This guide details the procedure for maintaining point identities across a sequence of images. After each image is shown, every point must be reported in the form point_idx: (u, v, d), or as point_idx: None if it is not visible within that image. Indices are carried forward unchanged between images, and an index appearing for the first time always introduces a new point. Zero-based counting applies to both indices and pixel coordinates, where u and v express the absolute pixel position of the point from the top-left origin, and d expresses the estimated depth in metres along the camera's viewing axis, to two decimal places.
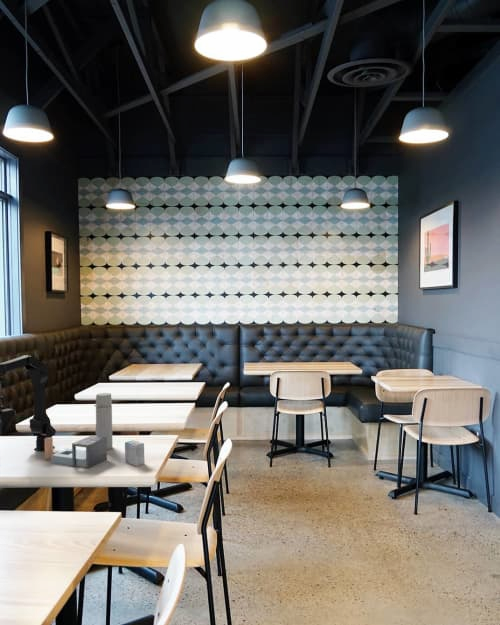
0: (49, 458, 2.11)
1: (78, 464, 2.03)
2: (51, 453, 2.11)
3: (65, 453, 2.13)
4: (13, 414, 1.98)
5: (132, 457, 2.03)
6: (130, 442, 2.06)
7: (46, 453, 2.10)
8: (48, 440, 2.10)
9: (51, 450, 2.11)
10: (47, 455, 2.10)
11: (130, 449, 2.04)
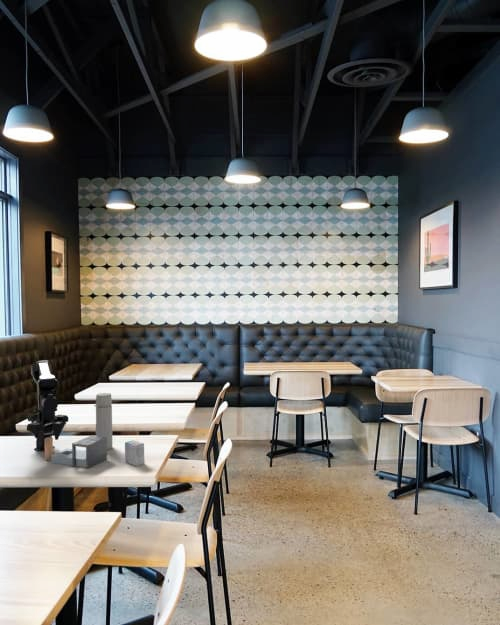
0: (49, 458, 2.11)
1: (78, 464, 2.03)
2: (51, 453, 2.11)
3: (65, 453, 2.13)
4: (34, 429, 2.02)
5: (132, 457, 2.03)
6: (130, 442, 2.06)
7: (46, 453, 2.10)
8: (48, 440, 2.10)
9: (51, 450, 2.11)
10: (47, 455, 2.10)
11: (130, 449, 2.04)
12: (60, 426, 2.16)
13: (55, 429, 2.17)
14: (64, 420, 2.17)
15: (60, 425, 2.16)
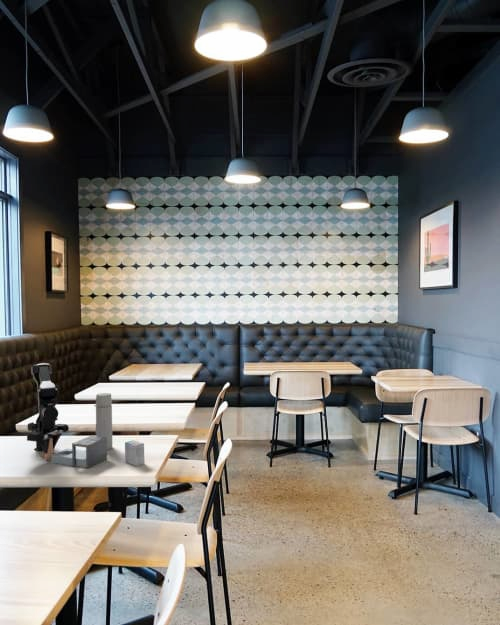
0: (49, 458, 2.11)
1: (78, 464, 2.03)
2: (51, 453, 2.11)
3: (65, 453, 2.13)
4: (34, 439, 2.02)
5: (132, 457, 2.03)
6: (130, 442, 2.06)
7: None
8: None
9: (51, 450, 2.11)
10: (47, 455, 2.10)
11: (130, 449, 2.04)
12: (56, 437, 2.13)
13: None
14: (64, 429, 2.17)
15: (56, 436, 2.13)
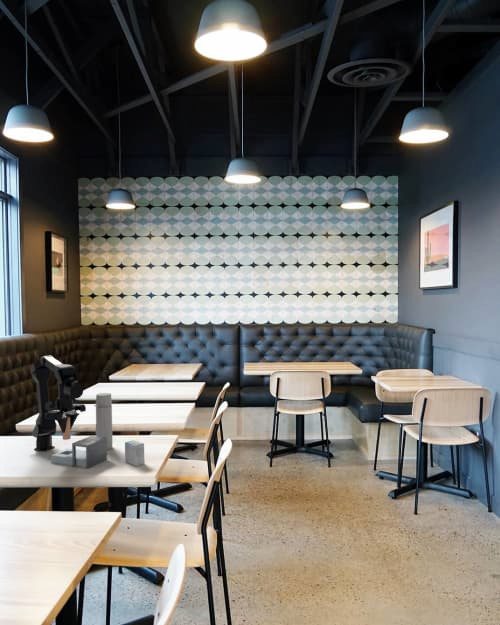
0: (67, 437, 2.09)
1: (78, 464, 2.03)
2: (69, 432, 2.10)
3: (65, 453, 2.13)
4: (52, 418, 2.01)
5: (132, 457, 2.03)
6: (130, 442, 2.06)
7: None
8: None
9: (69, 429, 2.10)
10: (65, 434, 2.09)
11: (130, 449, 2.04)
12: (73, 417, 2.12)
13: None
14: (81, 409, 2.15)
15: (73, 415, 2.12)
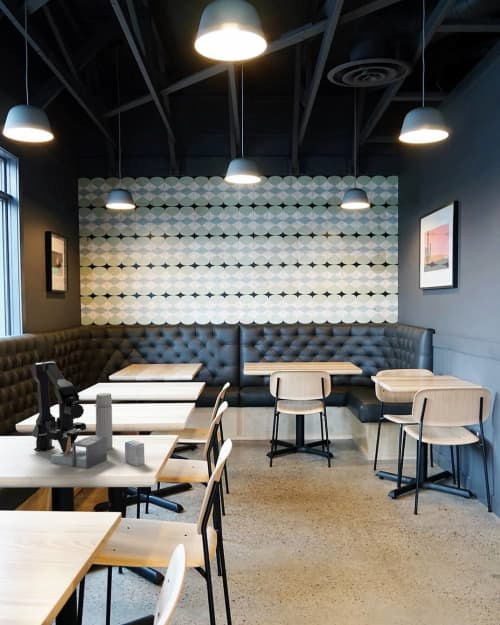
0: None
1: (78, 464, 2.03)
2: (69, 452, 2.10)
3: None
4: (53, 438, 2.01)
5: (132, 457, 2.03)
6: (130, 442, 2.06)
7: (64, 452, 2.09)
8: None
9: (69, 449, 2.10)
10: (65, 454, 2.09)
11: (130, 449, 2.04)
12: (74, 436, 2.12)
13: None
14: (82, 428, 2.15)
15: (74, 435, 2.12)
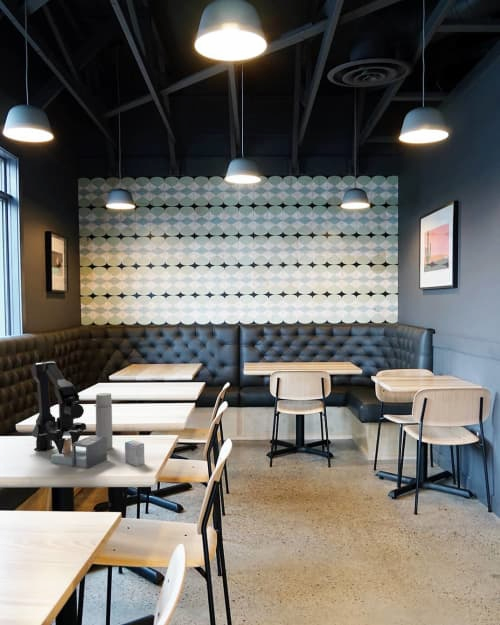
0: None
1: (78, 464, 2.03)
2: None
3: None
4: (53, 438, 2.01)
5: (132, 457, 2.03)
6: (130, 442, 2.06)
7: (64, 454, 2.09)
8: (66, 440, 2.09)
9: (69, 451, 2.10)
10: None
11: (130, 449, 2.04)
12: (77, 434, 2.14)
13: (72, 437, 2.15)
14: (82, 428, 2.15)
15: (77, 433, 2.14)
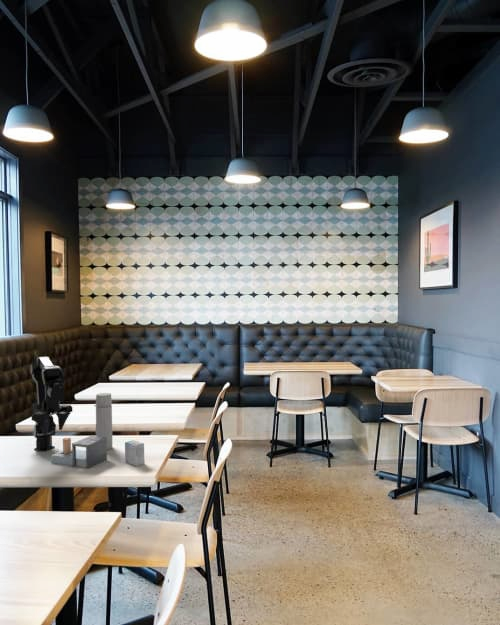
0: None
1: (78, 464, 2.03)
2: None
3: None
4: (39, 419, 2.01)
5: (132, 457, 2.03)
6: (130, 442, 2.06)
7: (64, 454, 2.09)
8: (66, 440, 2.09)
9: (69, 451, 2.10)
10: None
11: (130, 449, 2.04)
12: (64, 416, 2.15)
13: (59, 419, 2.15)
14: (68, 410, 2.15)
15: (64, 415, 2.15)
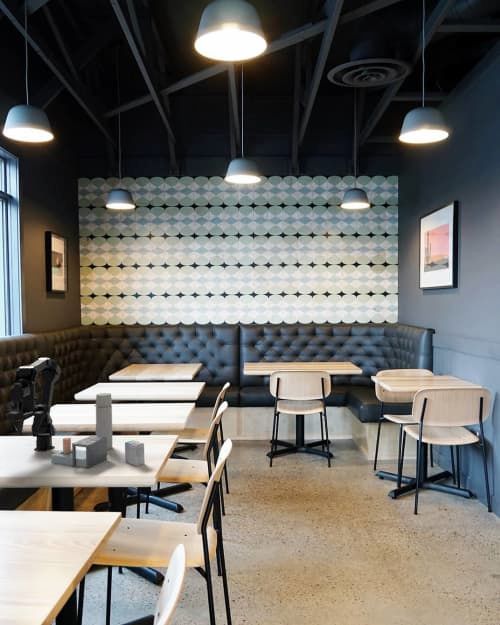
0: None
1: (78, 464, 2.03)
2: None
3: None
4: (13, 418, 2.01)
5: (132, 457, 2.03)
6: (130, 442, 2.06)
7: (64, 454, 2.09)
8: (66, 440, 2.09)
9: (69, 451, 2.10)
10: None
11: (130, 449, 2.04)
12: (40, 416, 2.14)
13: (35, 419, 2.15)
14: (44, 410, 2.15)
15: (40, 415, 2.14)
